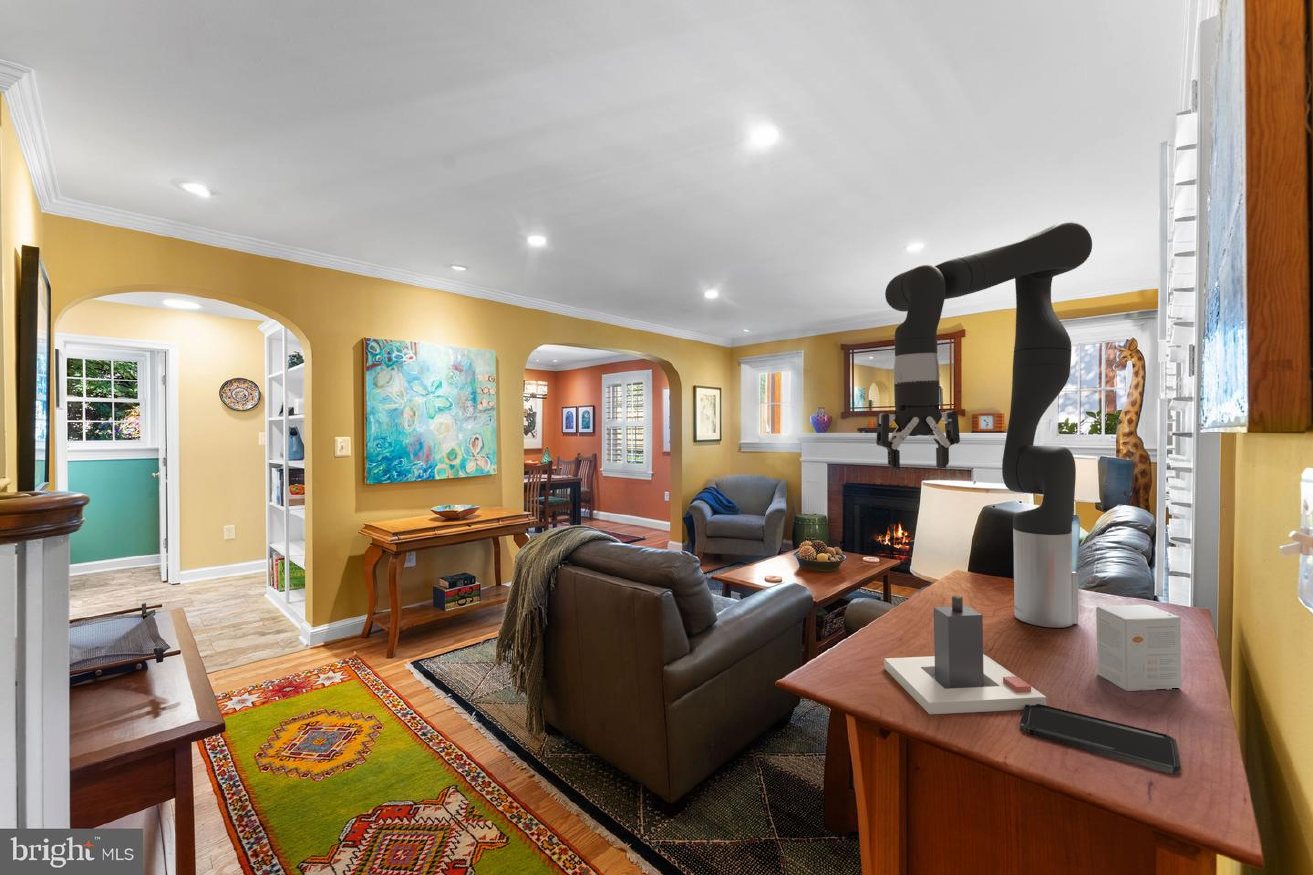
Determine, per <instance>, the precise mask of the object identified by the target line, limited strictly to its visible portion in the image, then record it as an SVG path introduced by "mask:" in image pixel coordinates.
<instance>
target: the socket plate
mask: <svg viewBox="0 0 1313 875" xmlns="http://www.w3.org/2000/svg"><path fill="white" fill-rule="evenodd" d="M883 660H884V669H885V670H886V671H887V672H888V674H890V676H891V677H892V678H894V680H895V681H896V682H897V683H898V684H899V685H900V686H901V687H903V689H904V690H905V691H906V692H907V693H908V694H909V695H910V697H912V698H913V699H914V700H915V702H917V703H918V704H919V705H920V706H921V707H922V708H923V709H924V710H925V711H926V712H927V713H928V714H929V715H944V714H963V713H982V712H983V713H985V712H1004V711H1006V712H1007V711H1024V708H1025V705H1028V704H1030V705H1036V704H1041V705H1045V706H1047V696H1045V695H1044V694H1042V693H1041V692H1040V691H1039V690H1037V689H1036V688H1034V687H1033V686H1032V685H1031V684H1028V683H1027V682H1026V681H1025V680H1023V679H1021V678H1020V677H1018V676H1016V675H1015V674H1014V673H1012V672H1010V671H1009V670H1008V669H1006V668H1005V667H1003V666H1002V665H1001V664H999V663H997V662H996V661H995V660H993V659H992V658H990V657H989V656H988V655H986V654H984V653H983V673H984V687H972V688H951V689H945V688H944V687H943V686H942V685H941V684H940V683H939V682H937V681H936V680H935V655H933V656H910V657H906V656H905V657H889V658H887V657H886V658H884V659H883Z"/></svg>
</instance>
